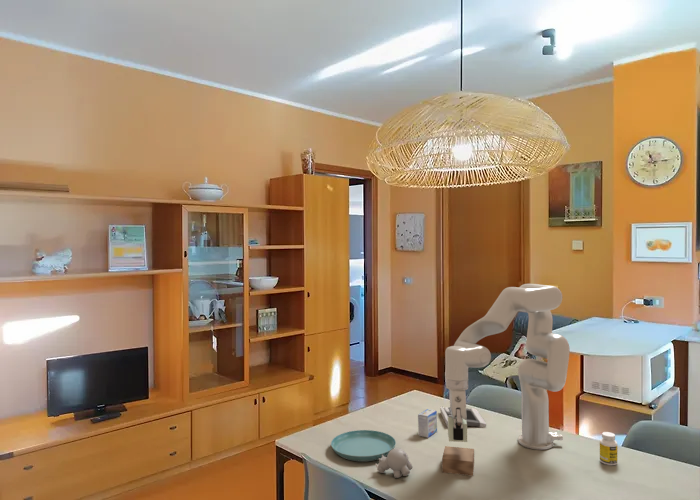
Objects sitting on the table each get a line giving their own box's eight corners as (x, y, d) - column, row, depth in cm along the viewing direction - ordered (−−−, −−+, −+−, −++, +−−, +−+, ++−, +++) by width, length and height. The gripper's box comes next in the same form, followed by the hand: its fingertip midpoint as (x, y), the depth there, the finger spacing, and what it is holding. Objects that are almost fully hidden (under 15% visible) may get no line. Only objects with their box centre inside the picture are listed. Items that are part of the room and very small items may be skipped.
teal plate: (409, 448, 186) (408, 439, 186) (366, 472, 168) (366, 462, 168) (361, 432, 202) (360, 424, 202) (317, 452, 185) (317, 443, 184)
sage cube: (465, 434, 172) (465, 417, 171) (467, 442, 166) (467, 424, 165) (448, 434, 172) (447, 417, 172) (449, 441, 166) (448, 423, 166)
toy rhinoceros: (385, 474, 171) (376, 450, 172) (416, 467, 166) (406, 442, 167) (377, 484, 164) (368, 459, 166) (409, 476, 160) (399, 450, 161)
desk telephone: (440, 406, 221) (476, 403, 221) (441, 416, 221) (477, 413, 221) (447, 421, 204) (486, 417, 203) (448, 432, 204) (487, 428, 204)
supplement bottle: (610, 467, 166) (610, 438, 166) (596, 461, 171) (596, 433, 171) (621, 463, 169) (620, 435, 169) (606, 457, 174) (606, 429, 173)
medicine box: (428, 438, 194) (427, 416, 194) (418, 435, 197) (417, 414, 196) (437, 431, 200) (437, 410, 200) (427, 429, 203) (427, 408, 203)
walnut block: (474, 463, 173) (474, 448, 173) (473, 476, 163) (472, 461, 163) (445, 460, 176) (445, 446, 175) (442, 473, 166) (442, 458, 166)
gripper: (470, 391, 159) (471, 446, 160) (465, 376, 177) (466, 426, 177) (447, 390, 161) (447, 445, 161) (444, 375, 178) (445, 425, 178)
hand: (457, 435), depth 169 cm, fingers closed on sage cube, 6 cm apart
